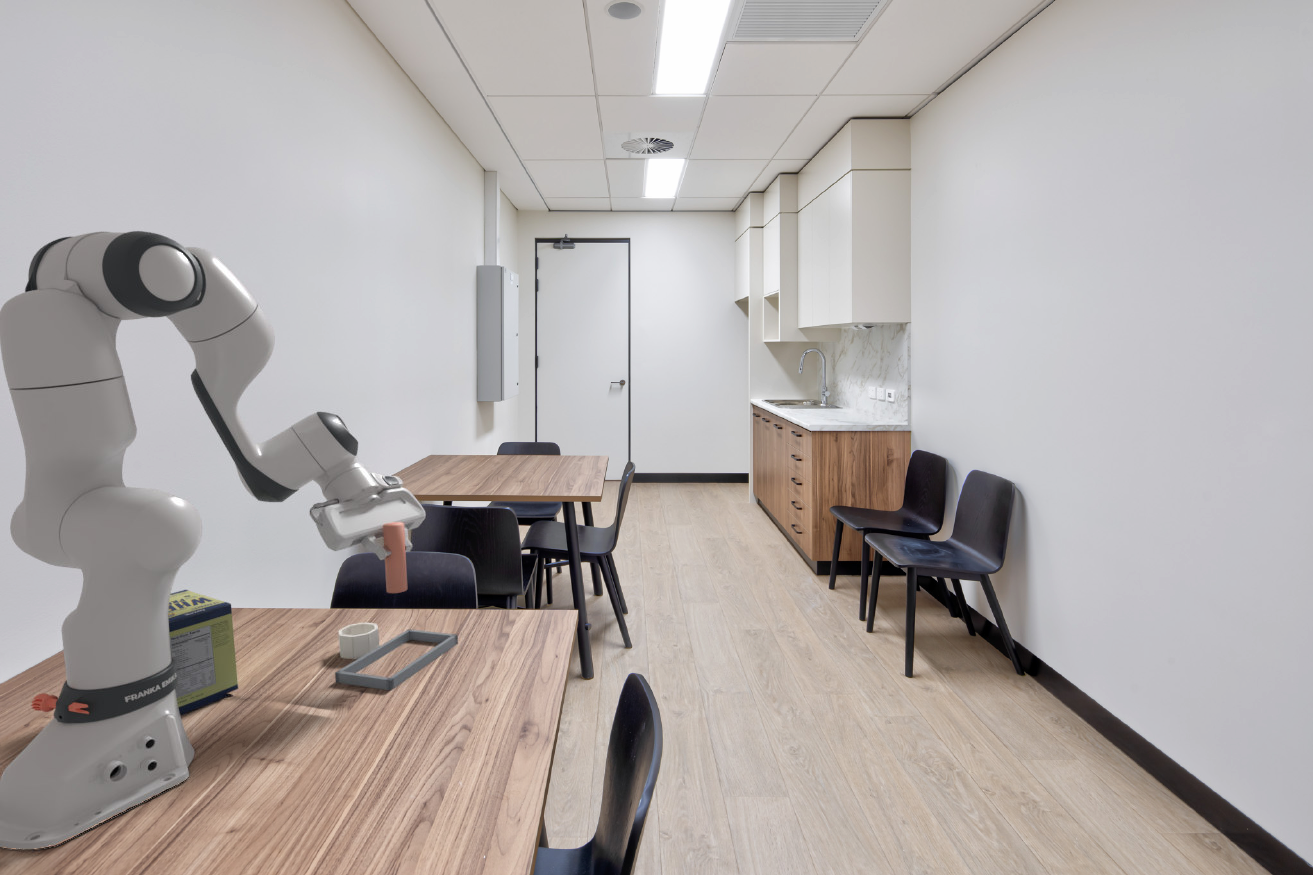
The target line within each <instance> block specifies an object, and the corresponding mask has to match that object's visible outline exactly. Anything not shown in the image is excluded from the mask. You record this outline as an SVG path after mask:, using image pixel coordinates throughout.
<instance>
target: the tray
mask: <svg viewBox="0 0 1313 875" xmlns="http://www.w3.org/2000/svg"><path fill="white" fill-rule="evenodd" d="M458 637H459V635H458V634H455V633H454V634H453V633H445V632H436V631H427V630H420V629H419V630H418V629H411V628H410V629H409V628H408V629H406V630H404V631H403V632H402V633H400V634H398V635H396V636H394V637H393V638H391V639H389V640H388V641H386V642H384V643H383V644H381V645H379V647H378V648H376V649H374V650H373V651H371V652H369V653H367V654H366V655H364V656H362V657H361V658H358V659H355V660H354V661H352V662H350V663H349V664H347V665H346V666H344V667H342V668H341V669H339V670H337V671H336V672H335V673H334V678H335V683H336V684H343V685H349V686H350V685H351V686H356V687H357V686H358V687H365V688H373V689H379V690H386V691H392V690H393V689H395V688H396V687H398V686H399V685H401V684H402V683H404V682H406V680H408V679H409V678H411V677H412V676H414V675H415V674H416V673H418V672H419V671H421V670H423V668H425V667H427V666H428V665H430V664H431V663H433V662H434V661H436V659H438V658H440V657H441V656H442V655H444V654H445V653H446V652H448V651H450V650H451V649H452V648H454V647H455V646H456V645H458V644H459V638H458ZM409 641H418V642H425V643H426V642H428V643H435V644H437V645H436V646H434V647H433V648H431V649H429V650H428V651H427V652H425V653H424V654H422V655H421V656H420V657H418V658H416V659H415V660H413V661H412V662H410V663H409V664H408V665H406V666H404V667H403V668H401V669H400V670H398V671H397V672H396V673H394V674H393V675H391V676H390V677H388V676H381V675H374V674H373V675H371V674H365V673H359V672H361V671H362V670H363V669H365V668H366V667H368V666H370V665H371V664H373V663H375V662H376V661H379V660H380V659H381V658H382V657H384V656H386V655H387V654H389V653H391V652H392V651H395V649H398V648H399V647H400V646H402V645H404V644H405V643H408V642H409Z"/></svg>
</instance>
